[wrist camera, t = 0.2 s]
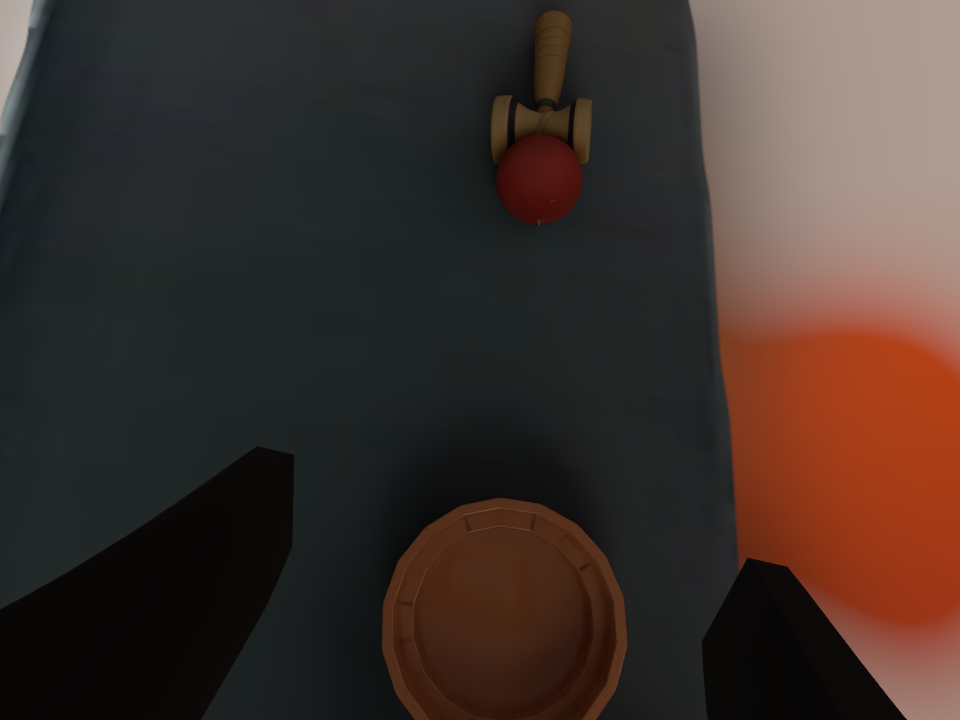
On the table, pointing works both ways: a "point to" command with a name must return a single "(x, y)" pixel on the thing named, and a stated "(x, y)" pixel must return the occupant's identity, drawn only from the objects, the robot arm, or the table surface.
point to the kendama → (542, 135)
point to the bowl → (504, 618)
